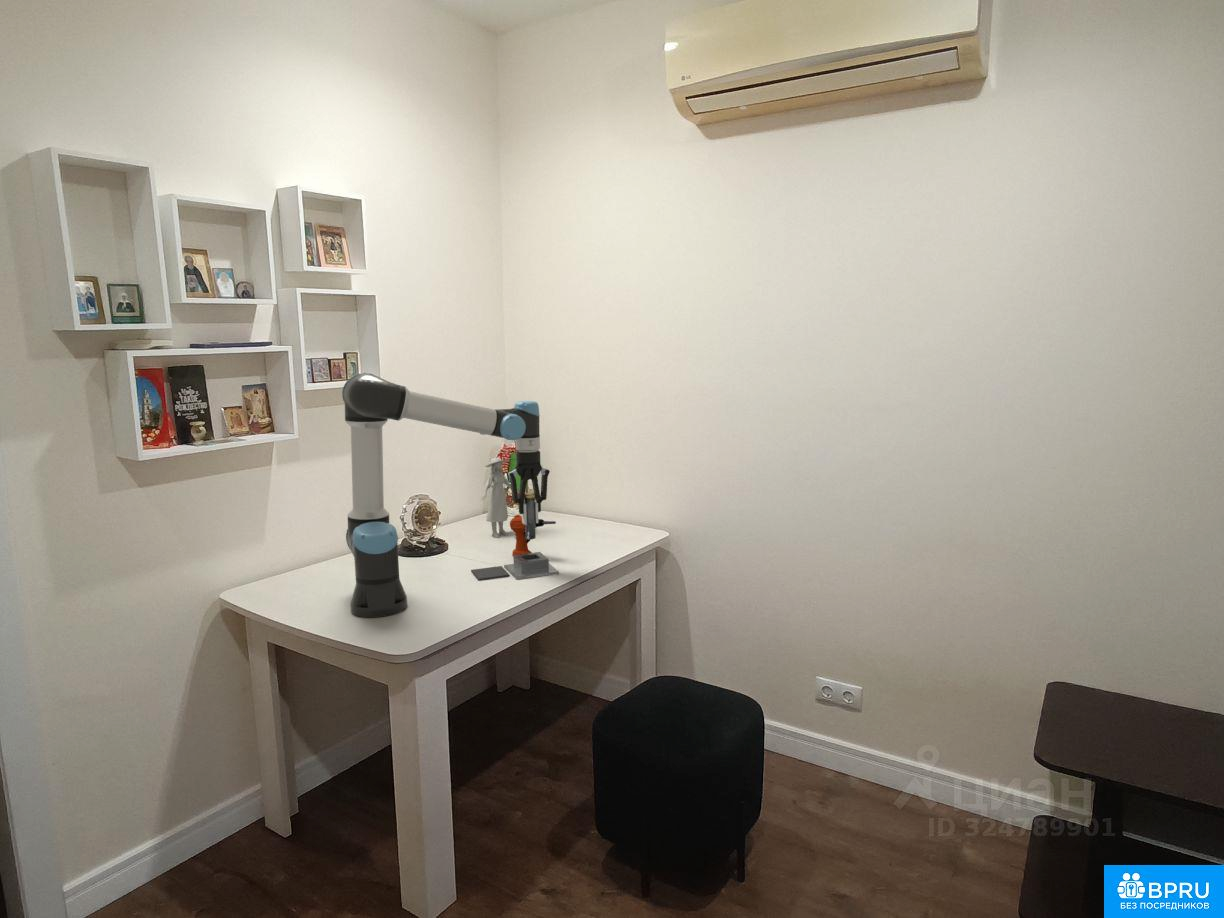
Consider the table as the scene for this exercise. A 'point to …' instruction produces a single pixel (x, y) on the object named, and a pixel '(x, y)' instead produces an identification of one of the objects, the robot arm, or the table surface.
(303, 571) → the table surface
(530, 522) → the gold capped cylinder
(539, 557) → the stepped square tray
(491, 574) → the mat
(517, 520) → the toy drill
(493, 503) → the character figure
